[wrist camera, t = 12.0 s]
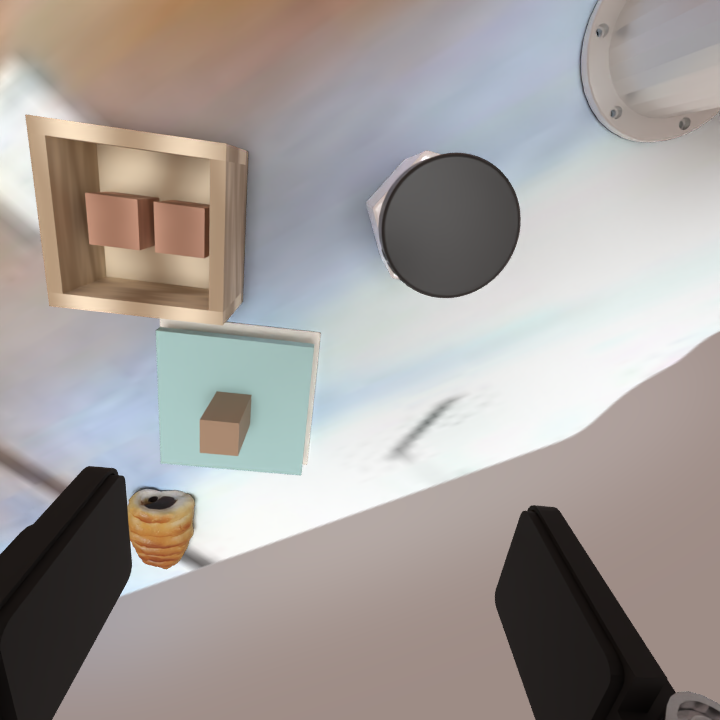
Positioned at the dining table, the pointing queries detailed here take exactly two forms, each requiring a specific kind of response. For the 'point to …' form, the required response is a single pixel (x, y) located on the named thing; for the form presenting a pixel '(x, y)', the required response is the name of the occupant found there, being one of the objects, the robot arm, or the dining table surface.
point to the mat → (267, 334)
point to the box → (139, 220)
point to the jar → (445, 223)
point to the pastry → (160, 525)
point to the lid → (232, 400)
